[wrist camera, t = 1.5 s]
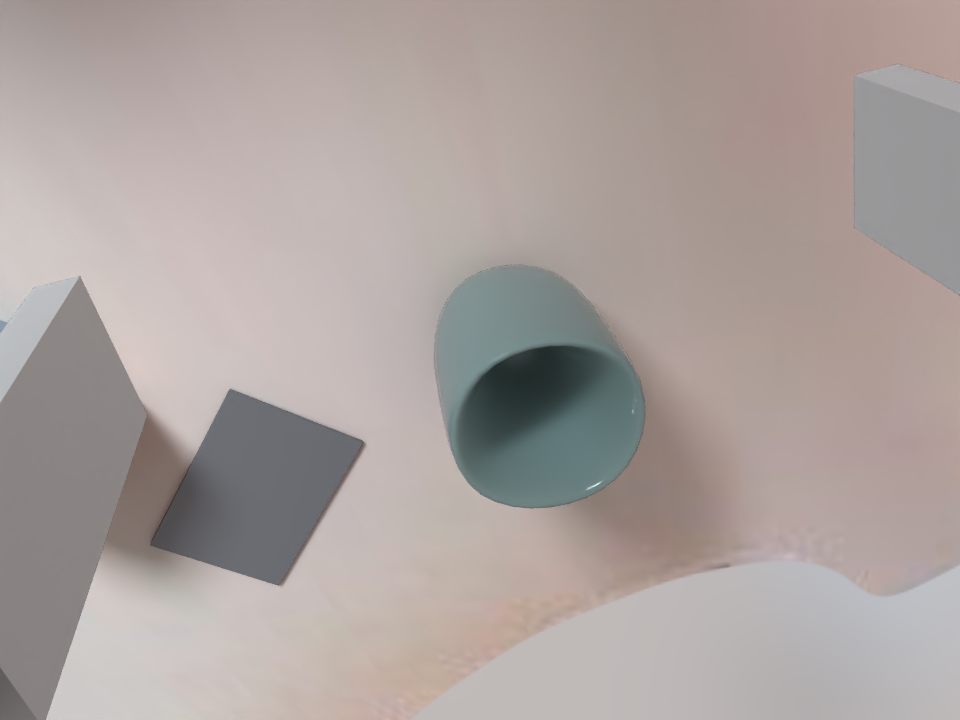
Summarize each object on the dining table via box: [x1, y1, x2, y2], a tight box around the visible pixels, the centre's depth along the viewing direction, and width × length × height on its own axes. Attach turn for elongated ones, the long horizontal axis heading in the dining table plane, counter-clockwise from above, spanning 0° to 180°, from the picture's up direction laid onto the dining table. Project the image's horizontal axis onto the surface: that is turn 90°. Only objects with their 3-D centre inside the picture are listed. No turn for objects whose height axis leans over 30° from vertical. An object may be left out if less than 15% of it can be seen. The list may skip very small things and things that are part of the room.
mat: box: [151, 389, 363, 586], centre depth 44 cm, size 7×10×1 cm
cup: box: [434, 265, 645, 508], centre depth 38 cm, size 8×8×10 cm
